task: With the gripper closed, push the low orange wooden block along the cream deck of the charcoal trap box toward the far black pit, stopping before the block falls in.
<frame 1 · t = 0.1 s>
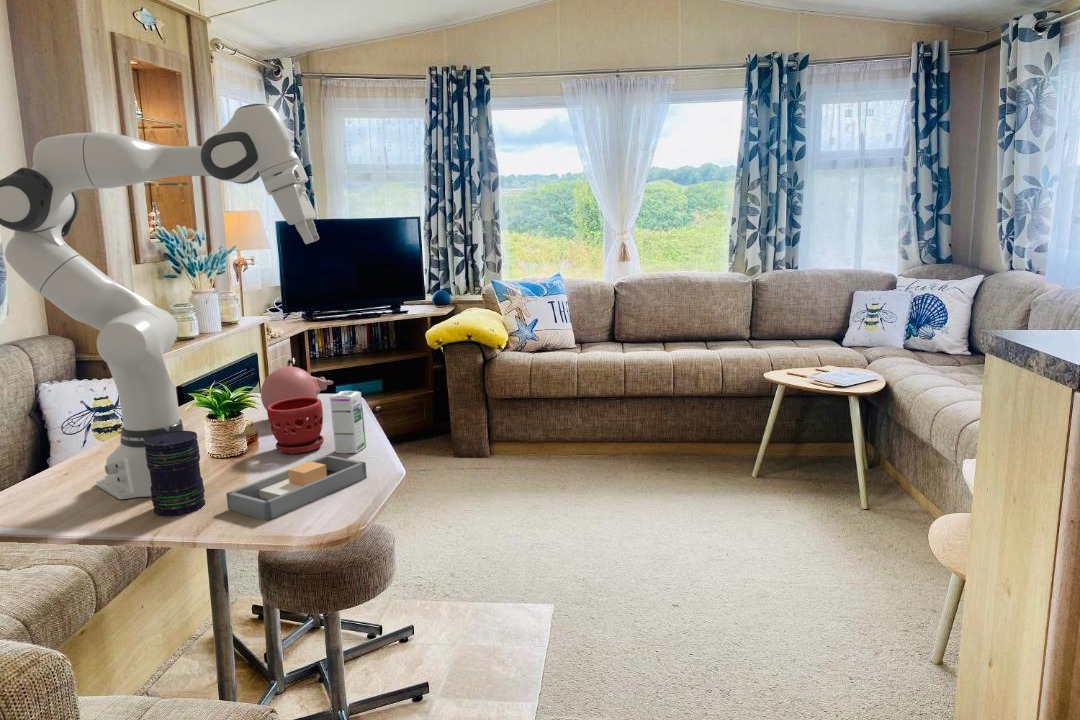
hand: (312, 242, 169), 52 cm above the table, tool tilted 20°, fingers open, 8 cm apart
wooden block: (308, 480, 169), point 2 cm above the table, touching trap box
syrup box: (350, 450, 195), on the table
trap box: (300, 492, 167), on the table
balloon: (300, 419, 226), on the table
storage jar: (180, 508, 161), on the table
plant pot: (298, 449, 198), on the table
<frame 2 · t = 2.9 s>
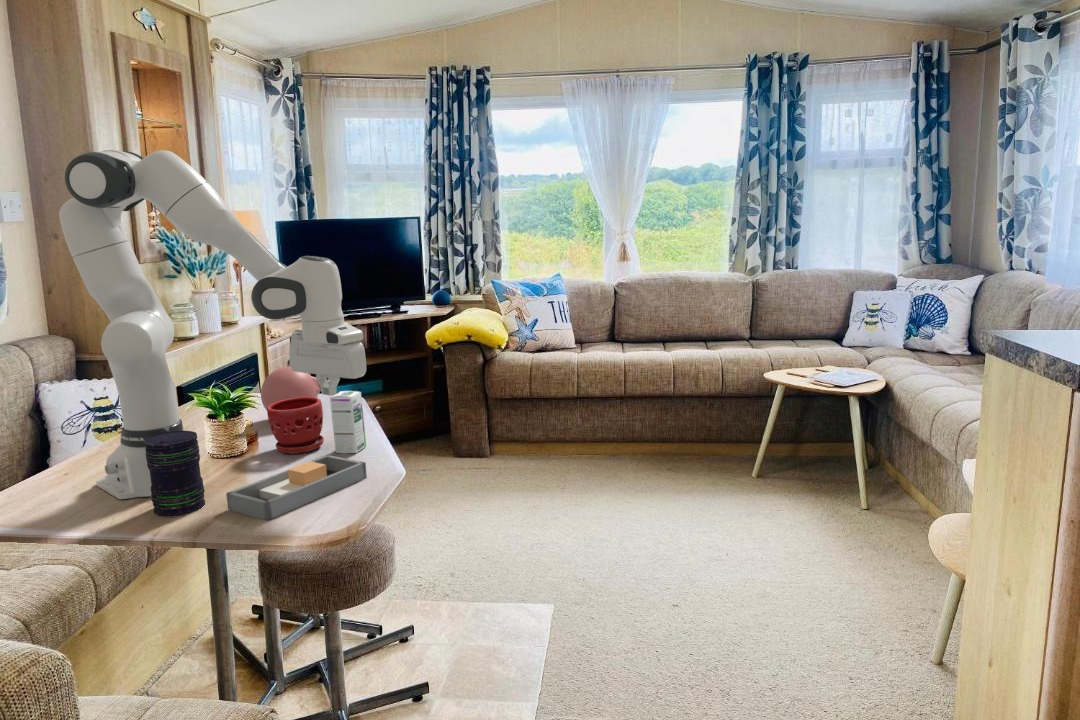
hand: (329, 394, 172), 19 cm above the table, tool pointing down, fingers closed
nothing on the table moved.
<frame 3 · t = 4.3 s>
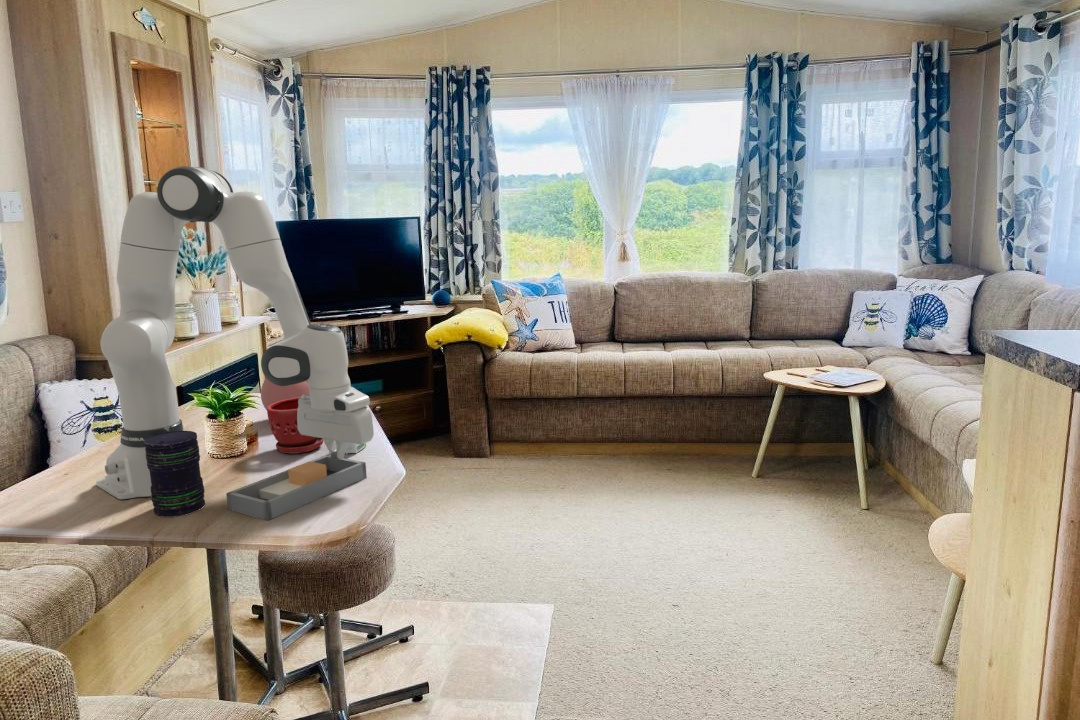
hand: (337, 457, 175), 5 cm above the table, tool pointing down, fingers closed
nothing on the table moved.
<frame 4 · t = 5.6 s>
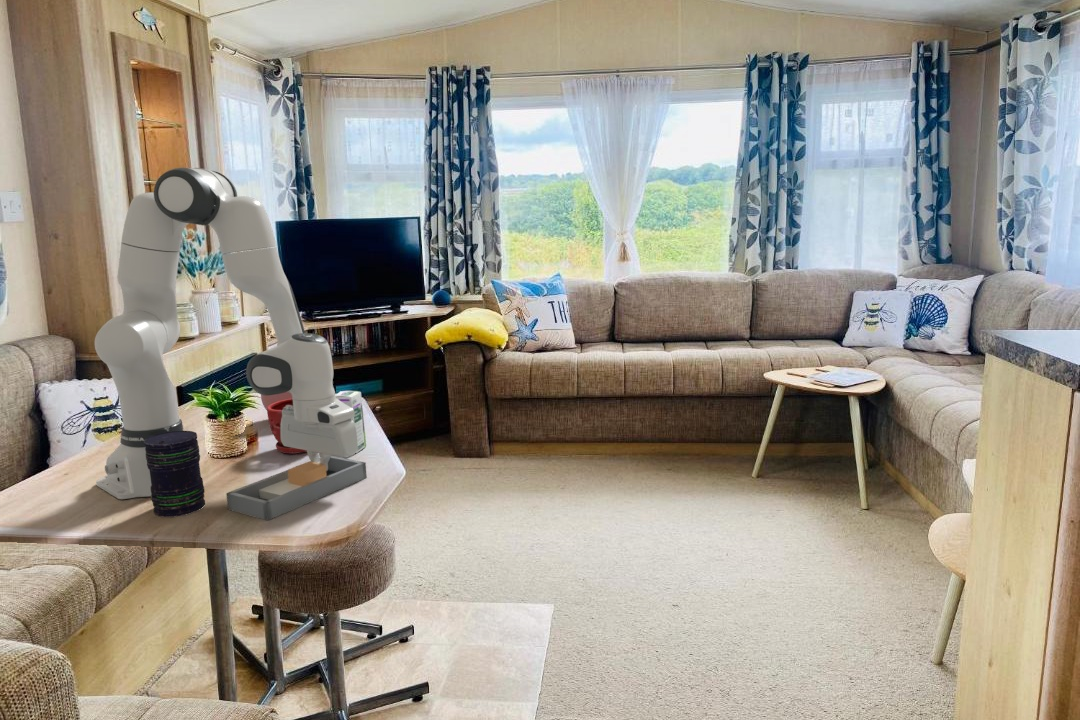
hand: (320, 470, 172), 3 cm above the table, tool pointing down, fingers closed, pressing on wooden block
wooden block: (308, 480, 168), point 2 cm above the table, touching gripper
everything else where it was.
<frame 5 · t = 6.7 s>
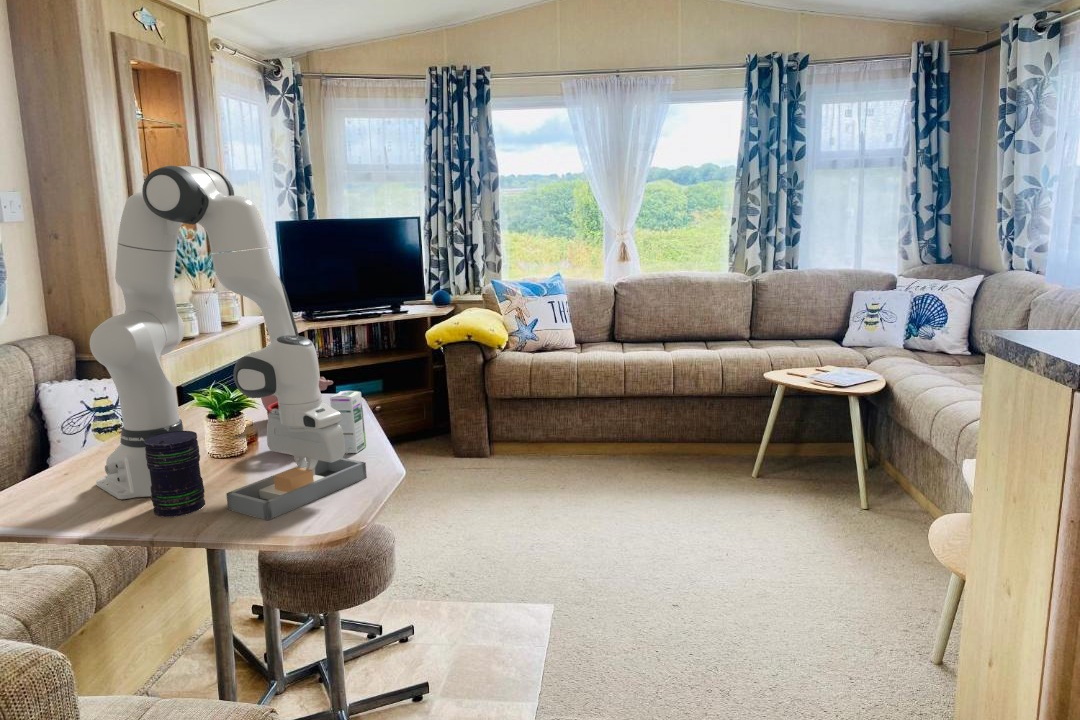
hand: (307, 475, 168), 3 cm above the table, tool pointing down, fingers closed, pressing on wooden block
wooden block: (294, 486, 165), point 2 cm above the table, touching gripper, trap box
everything else where it was.
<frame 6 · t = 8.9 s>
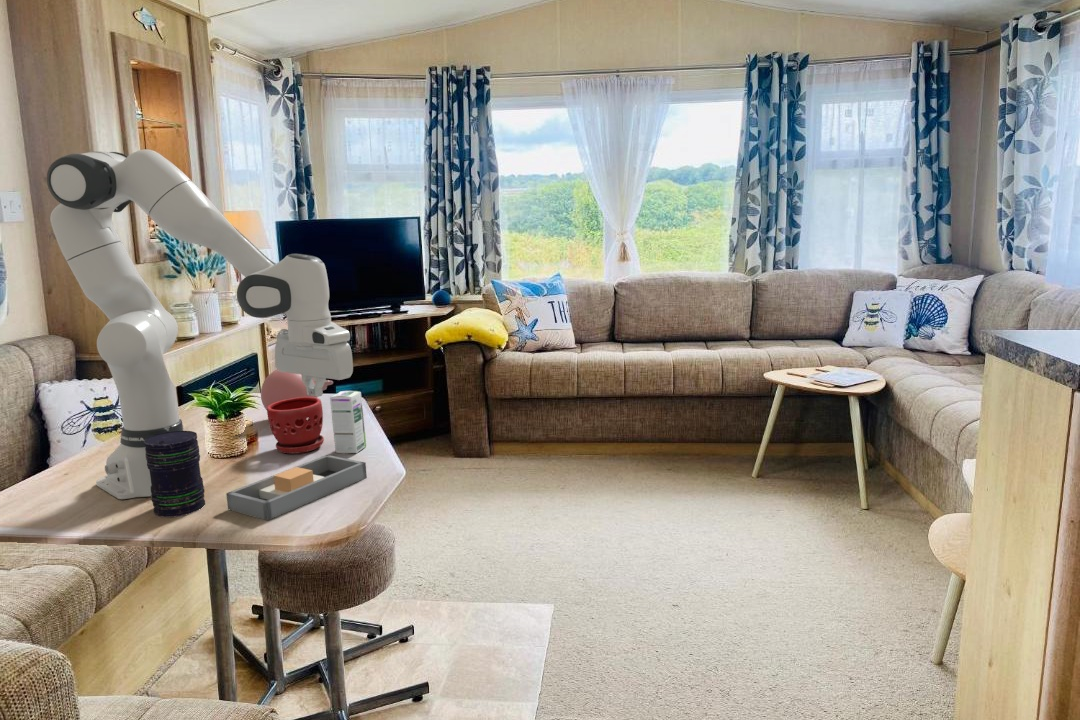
hand: (315, 395, 168), 20 cm above the table, tool pointing down, fingers closed
wooden block: (294, 486, 165), point 2 cm above the table, touching trap box
everything else where it was.
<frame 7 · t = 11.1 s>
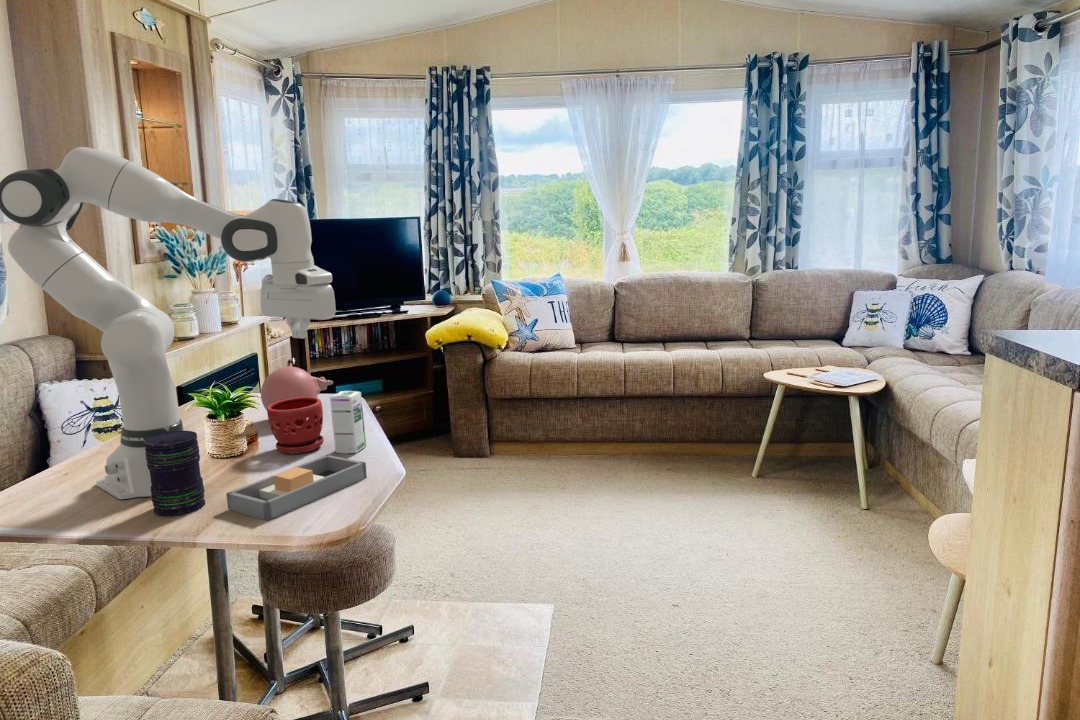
hand: (299, 337, 174), 31 cm above the table, tool pointing down, fingers closed
nothing on the table moved.
at the end: wooden block inside the target area on the trap box (0.5 cm from its centre), point 2.0 cm above the trap box's base; wooden block tilted 0°; wooden block moved 4.0 cm from its start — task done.
